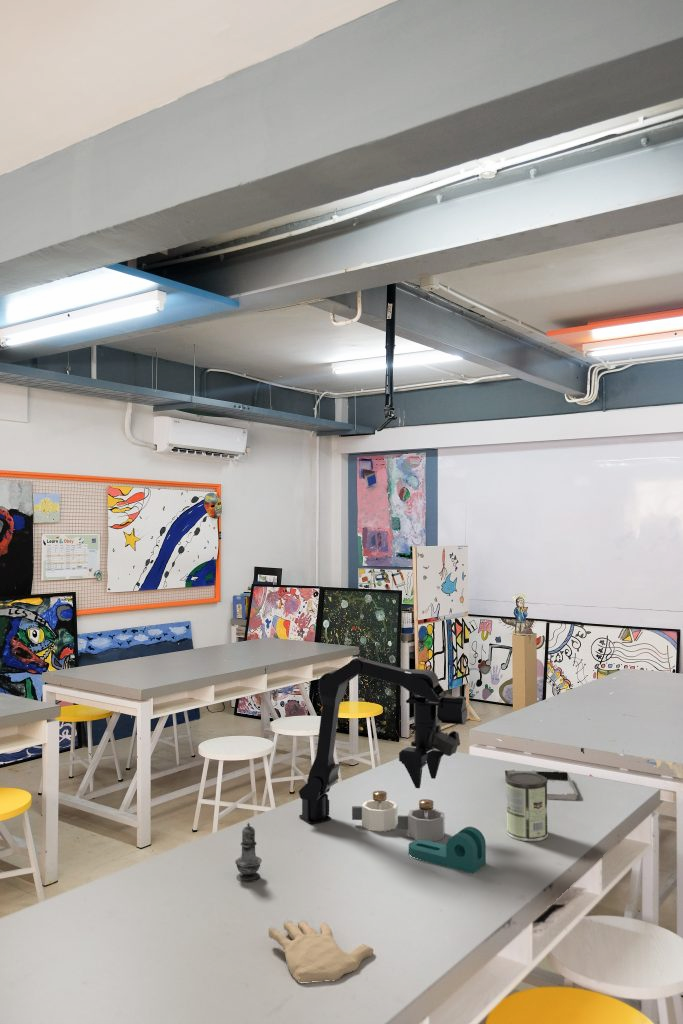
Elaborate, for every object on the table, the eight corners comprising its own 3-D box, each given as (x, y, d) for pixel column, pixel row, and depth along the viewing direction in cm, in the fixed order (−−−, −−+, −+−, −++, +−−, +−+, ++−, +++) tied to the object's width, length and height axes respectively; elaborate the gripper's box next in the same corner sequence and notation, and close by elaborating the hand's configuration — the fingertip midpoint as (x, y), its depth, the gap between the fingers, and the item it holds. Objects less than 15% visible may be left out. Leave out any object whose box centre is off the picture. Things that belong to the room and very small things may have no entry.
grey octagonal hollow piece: (417, 845, 202) (417, 824, 202) (395, 834, 209) (395, 813, 209) (451, 837, 207) (450, 816, 207) (429, 826, 215) (428, 806, 215)
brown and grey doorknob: (376, 828, 212) (376, 797, 212) (364, 821, 216) (364, 791, 217) (394, 823, 215) (394, 793, 215) (382, 817, 219) (382, 788, 220)
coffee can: (519, 823, 216) (519, 769, 217) (555, 833, 209) (555, 777, 210) (498, 834, 209) (498, 778, 209) (534, 845, 202) (534, 787, 202)
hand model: (272, 974, 139) (267, 904, 159) (271, 999, 140) (266, 927, 160) (382, 971, 142) (363, 903, 162) (380, 995, 143) (362, 925, 162)
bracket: (485, 864, 191) (485, 829, 191) (473, 874, 185) (473, 838, 186) (417, 847, 201) (417, 814, 201) (403, 856, 195) (403, 823, 196)
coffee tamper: (424, 838, 205) (424, 806, 205) (410, 831, 209) (410, 800, 210) (441, 833, 208) (441, 802, 208) (428, 826, 212) (428, 796, 213)
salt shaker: (240, 884, 180) (240, 829, 180) (231, 874, 185) (231, 820, 185) (265, 879, 182) (265, 824, 182) (255, 869, 187) (255, 816, 188)
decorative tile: (578, 805, 235) (571, 781, 254) (578, 794, 235) (571, 771, 254) (506, 801, 238) (504, 778, 258) (506, 791, 238) (504, 768, 258)
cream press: (369, 835, 209) (369, 814, 209) (350, 824, 216) (350, 804, 216) (403, 826, 214) (403, 806, 214) (383, 816, 222) (383, 797, 222)
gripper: (439, 733, 197) (439, 798, 197) (469, 717, 213) (469, 778, 213) (397, 727, 203) (397, 791, 203) (430, 712, 219) (430, 772, 219)
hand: (425, 783), depth 209 cm, fingers open, 9 cm apart
